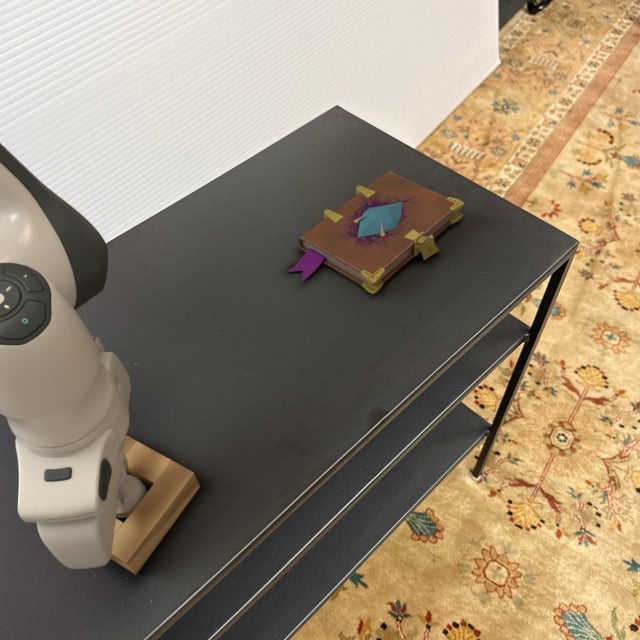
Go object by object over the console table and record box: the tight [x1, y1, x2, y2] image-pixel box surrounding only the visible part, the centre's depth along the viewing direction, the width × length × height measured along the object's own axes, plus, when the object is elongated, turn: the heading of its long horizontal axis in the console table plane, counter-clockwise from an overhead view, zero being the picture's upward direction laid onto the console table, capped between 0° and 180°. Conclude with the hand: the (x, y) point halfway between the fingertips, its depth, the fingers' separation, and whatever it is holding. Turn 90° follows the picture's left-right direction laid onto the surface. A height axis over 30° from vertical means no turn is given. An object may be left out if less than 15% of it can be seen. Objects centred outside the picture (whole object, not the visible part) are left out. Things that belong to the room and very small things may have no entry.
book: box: [286, 170, 465, 295], centre depth 92 cm, size 16×25×5 cm, turn 137°
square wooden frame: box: [110, 434, 200, 575], centre depth 69 cm, size 11×11×4 cm
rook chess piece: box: [116, 460, 148, 519], centre depth 66 cm, size 4×4×8 cm
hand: (118, 488), depth 67 cm, fingers closed on rook chess piece, 3 cm apart
